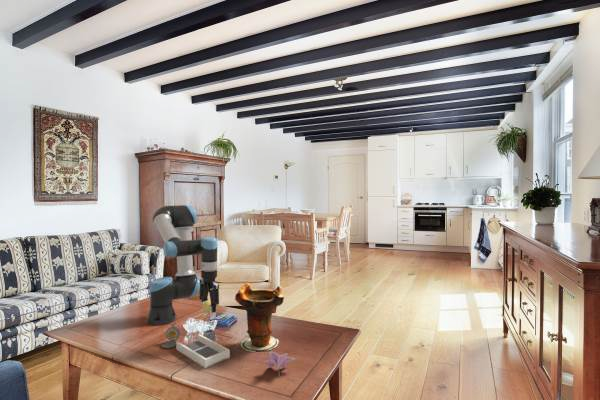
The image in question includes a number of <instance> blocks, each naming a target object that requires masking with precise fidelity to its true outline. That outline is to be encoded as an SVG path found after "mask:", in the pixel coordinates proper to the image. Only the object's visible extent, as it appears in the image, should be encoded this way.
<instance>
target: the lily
mask: <svg viewBox="0 0 600 400" xmlns="http://www.w3.org/2000/svg"><path fill="white" fill-rule="evenodd" d="M288 354H289V353H288V352H287V353H286V352H285V353H282V354H279V353H277V352H274V351H269V359H265V360H263V361H262V363H265V364H266V363H267V364H268V368H269V369H270V368H273V367H277V368H278V370H277V371H278V372H280V367H281V368H284V369H286V367H287V365H286V363H287V362H290V361H293V360H296V357H292V356H288ZM278 378H279V379H280V378H281V376H280V373H278Z"/></svg>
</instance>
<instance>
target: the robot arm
mask: <svg viewBox="0 0 600 400" xmlns="http://www.w3.org/2000/svg"><path fill="white" fill-rule="evenodd" d="M151 221H152V224H153V226H154V228H156V229H157V230H158V232H159V233H160V236H161V238H162V240H163V242H164V243H163V247H162V251H163V255H164V257H165V258H176V260H177V261H176V263H177V272H176V273H175V275H174V278H173V277H172V276H162V277H159V278H156V279H154V280H152V281H151V282H150V284H149V285H150V286H149V310H148V314H147V316H146V324H148V325H152V326H162V325H167V324H170V323H171V322H172V323H174V322H175V320H176V319H177V317H176V316H177V315H176V310H175V309H174V306H173V301H174V300H181V299H186V298H191V297H196V296H197V295H198V294H199V300H201V302H202V303H201V306H202V307H201V308H202V311H201V312H202V313H201V315H202V316H207V315H209V319H210V320H214V319H216V318H217V317H216V315H217V314H216V312H217V305H219V304H220V296H219V295H220V284H219V283H216V278H217V277H218V270H217V269H218V239H217V238H216V237H214V236H212V237H210V236H209V237H207V236H206V237H202V238H201V237H200V238H195V239H192V230H193V229H194V226H195V225H196V224H197V221H198V220H197V213H196V210H195V208H194V207H193V206H192V205H186V204H185V205H184V204H183V205H182V204H181V205H165V206H161V207H159V208H158V209H157V210H156V211H155V212H154V213H153V215H152V220H151ZM196 255H201V256H200V257H201V259H200V261H201V262H200V263H201V265H200V266H201V267H200V268H201V271H200V276H199V275H197V272H196V271H194V263H193V261H194V260H193V256H196ZM200 278H201V279H200ZM208 297H209V299H210V301H211V305H210V313H205V312H204V311H203V304H204V303H205V302H206V301H209V299H208Z"/></svg>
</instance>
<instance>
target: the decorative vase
mask: <svg viewBox="0 0 600 400" xmlns="http://www.w3.org/2000/svg"><path fill="white" fill-rule="evenodd" d="M234 298H235V299H234V300H235V301H236V303H238V304H239V306H241V307H243V309H244V310H245V311H246V320H247V321H246V322H247V323H246V324H247V330H246V334H248V337H247V338H244V340H243V341H242V342H241V344H240V346H241V348H243V350H245V351H247V352H251V353H252V352H253V353H255V352H257V351H260V352H261V351H262V352H264V351H270V350H272V349H275V348H276V347H278V344H279V342H280V340H279V339H278V338H275V337H274V336H272V333H273V330H272V316H273V312H274V310H275V309H276V308H277V307H279V306H281V305H282V304H283V303H284V300H285V296H284V294H283V292H282V286H281V285H277V287H276V288H275V289H267V288H252V287H251V285H250V283H248V282H246V283H243V284H242V286H241V288H240V289H238V292H236V293H235V296H234Z"/></svg>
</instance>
